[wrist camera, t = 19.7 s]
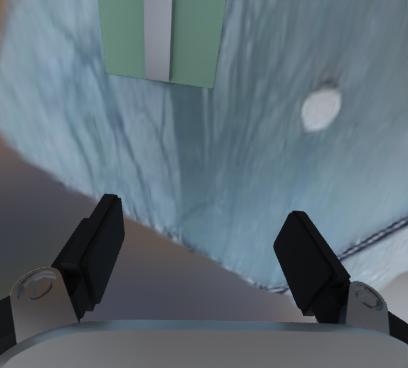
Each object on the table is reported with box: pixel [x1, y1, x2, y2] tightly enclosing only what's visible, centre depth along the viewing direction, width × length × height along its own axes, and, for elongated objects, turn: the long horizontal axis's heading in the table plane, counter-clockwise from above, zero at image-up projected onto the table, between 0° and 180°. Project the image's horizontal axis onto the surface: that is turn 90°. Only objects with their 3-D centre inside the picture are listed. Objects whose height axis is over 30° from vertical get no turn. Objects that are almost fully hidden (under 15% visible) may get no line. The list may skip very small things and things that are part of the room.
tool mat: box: [98, 0, 226, 89], centre depth 25 cm, size 16×18×1 cm
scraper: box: [144, 0, 175, 82], centre depth 24 cm, size 14×14×5 cm
